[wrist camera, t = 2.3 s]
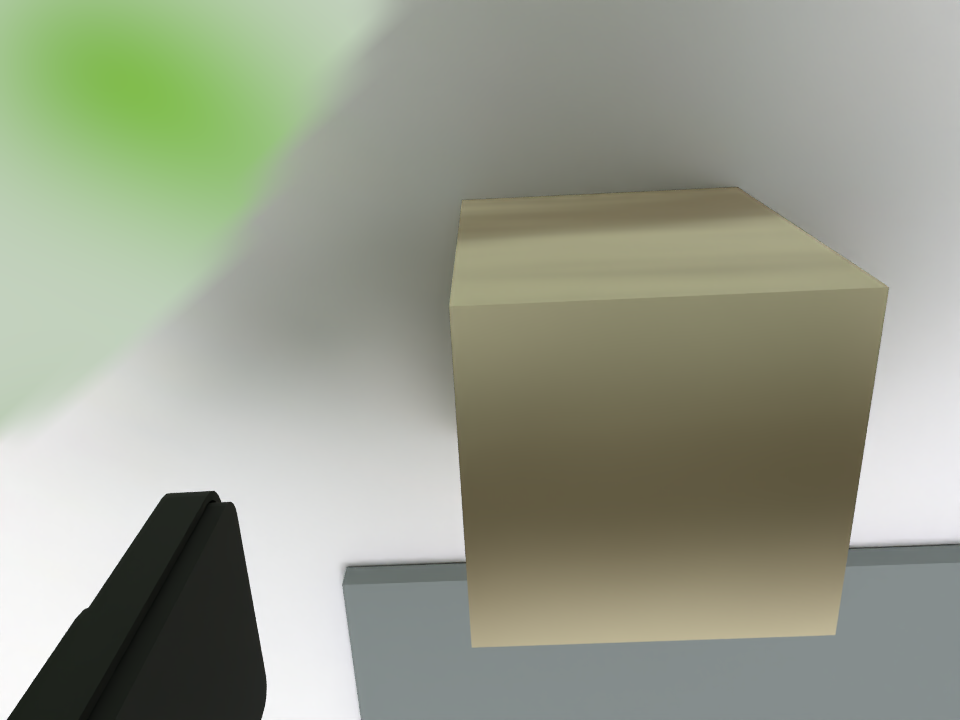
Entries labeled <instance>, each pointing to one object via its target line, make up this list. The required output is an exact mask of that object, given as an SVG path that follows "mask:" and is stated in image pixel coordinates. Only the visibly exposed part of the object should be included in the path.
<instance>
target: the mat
mask: <svg viewBox="0 0 960 720" xmlns="http://www.w3.org/2000/svg"><path fill="white" fill-rule="evenodd" d="M342 586H343V593H344V600H345V607H346V614H347V622H348V629H349V636H350V643H351V650H352V658H353V665H354V672H355V679H356V686H357V694H358V701H359V708H360V715H361V720H960V545H944V546H917V547H890V548H863V549H848V556H847V562H846V569H845V575H844V582H843V588H842V595H841V601H840V608H839V614H838V621H837V627H836V634H835V635H825V636H796V637H767V638H738V639H709V640H680V641H651V642H622V643H593V644H564V645H535V646H506V647H477V648H472V645H471V630H470V615H469V600H468V585H467V570H466V563H456V564H429V565H402V566H375V567H347V568H346V573H345V577H344V581H343V585H342Z"/></svg>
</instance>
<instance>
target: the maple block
mask: <svg viewBox="0 0 960 720" xmlns="http://www.w3.org/2000/svg"><path fill="white" fill-rule="evenodd" d="M888 290H889V287H888V286H886V285H885V284H883V283H882V282H880V281H879V280H877V279H876V278H874V277H873V276H871V275H870V274H868V273H867V272H865V271H864V270H862V269H861V268H859V267H858V266H856V265H855V264H853V263H852V262H850V261H849V260H847V259H846V258H844V257H843V256H841V255H840V254H838V253H837V252H835V251H834V250H832V249H830V248H829V247H827V246H826V245H824V244H823V243H821V242H820V241H818V240H817V239H815V238H814V237H812V236H811V235H809V234H808V233H806V232H805V231H803V230H802V229H800V228H799V227H797V226H796V225H794V224H793V223H791V222H790V221H788V220H787V219H785V218H784V217H782V216H781V215H779V214H778V213H776V212H775V211H773V210H772V209H770V208H769V207H767V206H765V205H764V204H762V203H761V202H759V201H758V200H756V199H755V198H753V197H752V196H750V195H749V194H747V193H746V192H744V191H743V190H741V189H740V188H738V187H726V188H705V189H684V190H663V191H642V192H621V193H600V194H579V195H558V196H537V197H515V198H494V199H473V200H462V204H461V212H460V220H459V229H458V237H457V245H456V253H455V261H454V270H453V278H452V286H451V294H450V302H449V315H450V330H451V345H452V360H453V375H454V390H455V405H456V420H457V435H458V450H459V465H460V480H461V495H462V510H463V525H464V540H465V555H466V570H467V585H468V600H469V615H470V630H471V645H472V648H477V647H506V646H535V645H564V644H593V643H622V642H651V641H680V640H709V639H738V638H767V637H796V636H825V635H835V634H836V627H837V621H838V614H839V608H840V601H841V595H842V588H843V582H844V575H845V569H846V562H847V556H848V549H849V543H850V537H851V530H852V524H853V517H854V511H855V504H856V498H857V491H858V485H859V478H860V472H861V465H862V459H863V452H864V446H865V439H866V433H867V426H868V420H869V413H870V407H871V400H872V394H873V387H874V381H875V374H876V368H877V361H878V355H879V348H880V342H881V335H882V329H883V322H884V316H885V309H886V303H887V296H888Z"/></svg>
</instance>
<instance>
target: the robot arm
mask: <svg viewBox="0 0 960 720" xmlns="http://www.w3.org/2000/svg"><path fill="white" fill-rule="evenodd" d="M266 691H267V684H266V674H265V668H264V662H263V657H262V651H261V646H260V640H259V634H258V629H257V623H256V617H255V612H254V606H253V601H252V595H251V589H250V584H249V578H248V573H247V567H246V561H245V556H244V550H243V545H242V539H241V533H240V528H239V522H238V517H237V512H236V508H235V506H234V504H233V503H232V502H221V500H220V498H219V496H218V494H217V493H216V492H215V491H204V492H185V493H169V494H166V495H165V496H164V497H163V498H162V499H161V501H160V502H159V503H158V505H157V506H156V508H155V509H154V511H153V512H152V514H151V515H150V517H149V518H148V520H147V521H146V523H145V524H144V526H143V527H142V529H141V530H140V532H139V533H138V535H137V536H136V538H135V539H134V541H133V542H132V544H131V545H130V547H129V548H128V550H127V551H126V553H125V554H124V556H123V557H122V559H121V560H120V562H119V563H118V565H117V566H116V568H115V569H114V571H113V572H112V574H111V575H110V577H109V578H108V579H107V581H106V582H105V584H104V585H103V587H102V588H101V590H100V591H99V593H98V594H97V596H96V597H95V599H94V600H93V602H92V603H91V605H90V606H89V608H86V609H84V610H83V611H82V612H81V613H80V615H79V616H78V617H77V618H76V619H75V620H74V622H73V623H72V625H71V626H70V628H69V629H68V631H67V632H66V634H65V635H64V637H63V638H62V640H61V641H60V642H59V644H58V645H57V647H56V648H55V650H54V651H53V653H52V654H51V656H50V657H49V659H48V660H47V662H46V663H45V665H44V666H43V667H42V669H41V670H40V672H39V673H38V675H37V676H36V678H35V679H34V681H33V682H32V684H31V685H30V687H29V688H28V689H27V691H26V692H25V694H24V695H23V697H22V698H21V700H20V701H19V703H18V704H17V706H16V707H15V709H14V710H13V712H12V713H11V714H10V716H9V717H8V719H7V720H261V718H262V715H263V711H264V707H265V702H266Z"/></svg>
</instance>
